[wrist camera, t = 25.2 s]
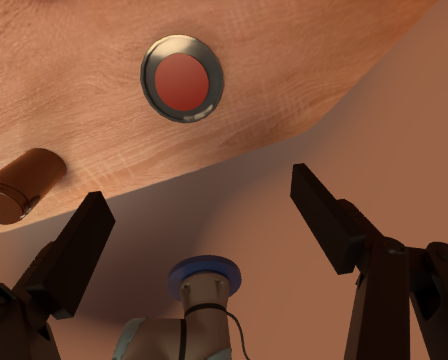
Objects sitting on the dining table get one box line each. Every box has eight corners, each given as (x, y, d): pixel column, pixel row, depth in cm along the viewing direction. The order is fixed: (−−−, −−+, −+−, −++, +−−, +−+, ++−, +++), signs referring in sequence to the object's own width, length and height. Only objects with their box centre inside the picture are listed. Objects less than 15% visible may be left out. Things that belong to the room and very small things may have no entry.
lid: (181, 39, 30) (180, 39, 28) (218, 84, 33) (219, 86, 32) (145, 79, 32) (143, 81, 30) (183, 117, 36) (183, 121, 34)
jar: (74, 171, 39) (35, 215, 30) (46, 185, 40) (0, 232, 31) (44, 141, 36) (-11, 180, 26) (14, 158, 37) (-50, 200, 27)
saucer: (224, 116, 37) (225, 118, 35) (154, 123, 36) (152, 126, 35) (218, 31, 30) (219, 30, 29) (131, 39, 29) (129, 39, 28)
